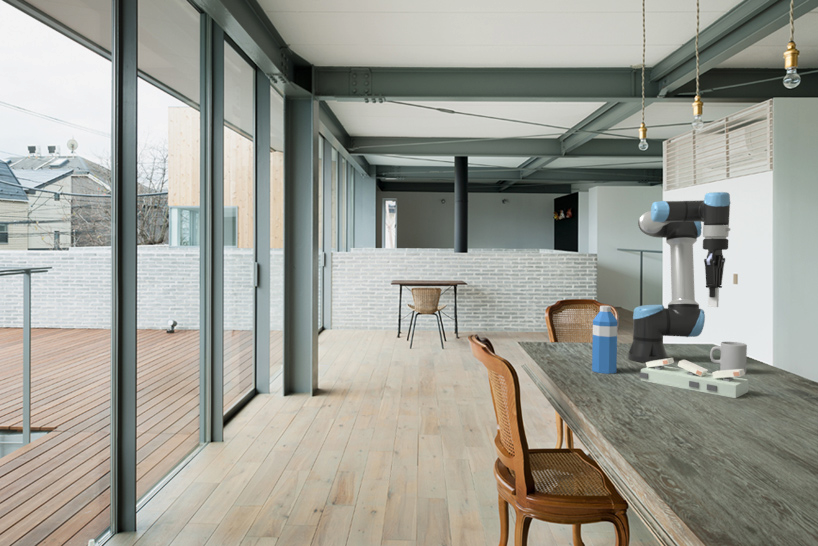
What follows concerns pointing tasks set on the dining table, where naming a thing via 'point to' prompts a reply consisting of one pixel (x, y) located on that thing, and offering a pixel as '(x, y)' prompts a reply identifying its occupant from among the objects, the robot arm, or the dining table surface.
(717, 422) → the dining table surface
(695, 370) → the rocker middle
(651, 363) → the block
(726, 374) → the rocker right
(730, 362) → the mug
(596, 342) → the water bottle
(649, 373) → the switch unit
